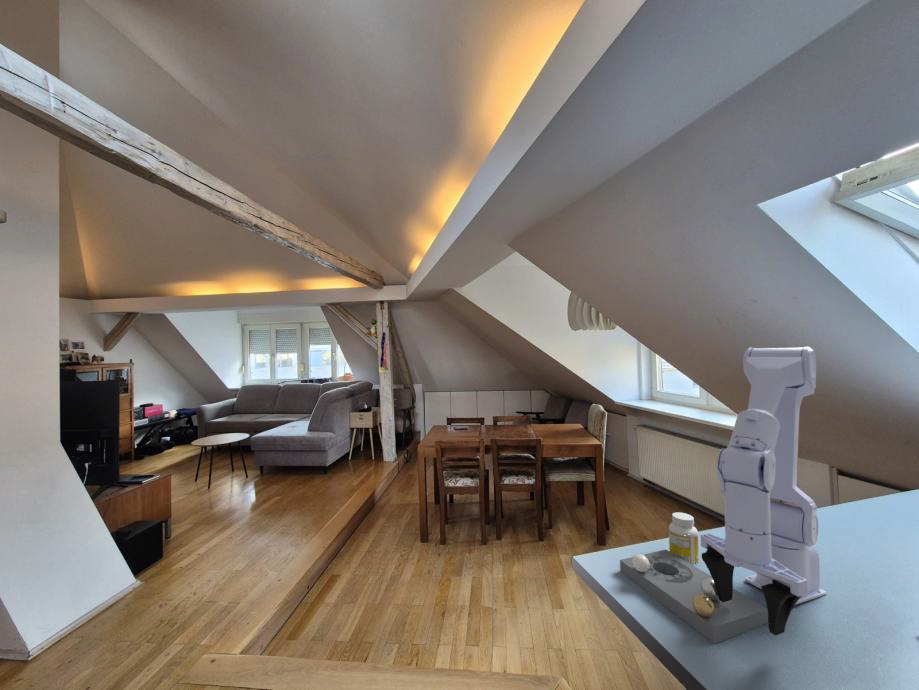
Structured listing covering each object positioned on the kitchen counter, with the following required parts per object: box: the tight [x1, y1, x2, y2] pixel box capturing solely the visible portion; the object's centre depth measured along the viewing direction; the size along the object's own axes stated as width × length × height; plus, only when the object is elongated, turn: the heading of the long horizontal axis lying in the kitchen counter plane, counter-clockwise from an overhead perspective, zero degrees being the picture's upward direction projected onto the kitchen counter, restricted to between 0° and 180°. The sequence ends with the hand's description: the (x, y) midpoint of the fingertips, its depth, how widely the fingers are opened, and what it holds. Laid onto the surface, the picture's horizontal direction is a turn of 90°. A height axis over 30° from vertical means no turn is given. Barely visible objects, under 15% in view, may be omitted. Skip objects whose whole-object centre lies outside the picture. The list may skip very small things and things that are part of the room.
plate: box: [619, 549, 768, 644], centre depth 69 cm, size 12×20×2 cm, turn 19°
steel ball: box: [701, 578, 719, 600], centre depth 65 cm, size 3×3×3 cm
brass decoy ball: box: [692, 594, 715, 617], centre depth 61 cm, size 3×3×3 cm
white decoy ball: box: [632, 553, 650, 572], centre depth 73 cm, size 3×3×3 cm
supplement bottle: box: [668, 511, 700, 565], centre depth 81 cm, size 5×5×10 cm
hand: (749, 615), depth 59 cm, fingers open, 7 cm apart
